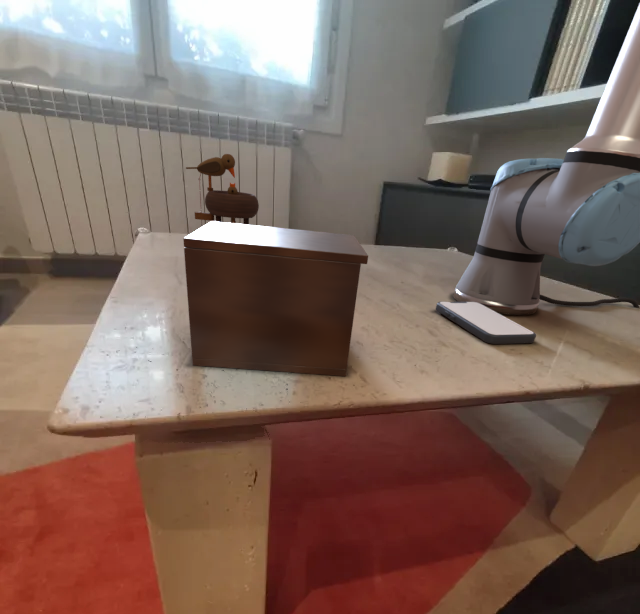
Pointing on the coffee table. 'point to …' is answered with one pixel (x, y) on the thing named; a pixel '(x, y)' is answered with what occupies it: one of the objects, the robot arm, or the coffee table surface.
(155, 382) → the coffee table surface
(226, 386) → the coffee table surface
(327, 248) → the lid
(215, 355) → the chest
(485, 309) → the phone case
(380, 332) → the coffee table surface
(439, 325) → the coffee table surface
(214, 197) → the bird figurine
